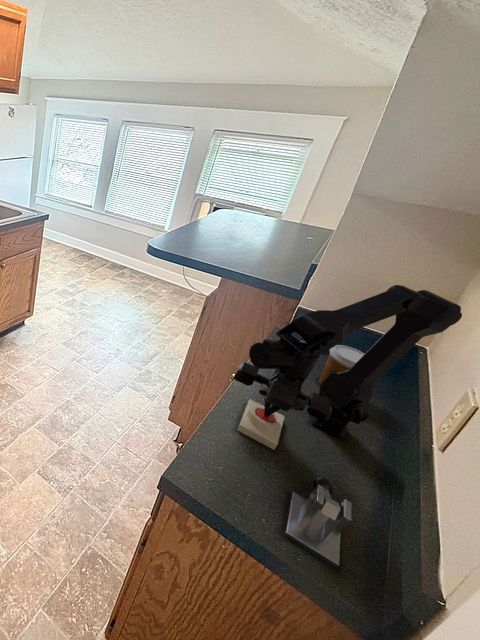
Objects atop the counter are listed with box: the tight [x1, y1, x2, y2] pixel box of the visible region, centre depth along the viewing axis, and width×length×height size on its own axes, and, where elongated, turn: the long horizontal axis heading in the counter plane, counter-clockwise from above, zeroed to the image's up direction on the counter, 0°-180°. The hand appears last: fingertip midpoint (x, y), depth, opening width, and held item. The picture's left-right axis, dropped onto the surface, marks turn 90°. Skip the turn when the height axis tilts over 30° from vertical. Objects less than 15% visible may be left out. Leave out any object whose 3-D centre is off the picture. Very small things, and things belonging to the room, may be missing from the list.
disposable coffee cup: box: [318, 344, 365, 386], centre depth 109 cm, size 10×10×12 cm
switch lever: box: [312, 476, 341, 520], centre depth 74 cm, size 13×3×3 cm, turn 140°
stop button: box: [256, 409, 275, 423], centre depth 94 cm, size 4×4×2 cm
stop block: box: [237, 398, 285, 451], centre depth 94 cm, size 12×8×4 cm, turn 139°
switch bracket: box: [284, 485, 353, 569], centre depth 71 cm, size 11×8×9 cm
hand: (266, 414), depth 93 cm, fingers closed, pressing on stop button
